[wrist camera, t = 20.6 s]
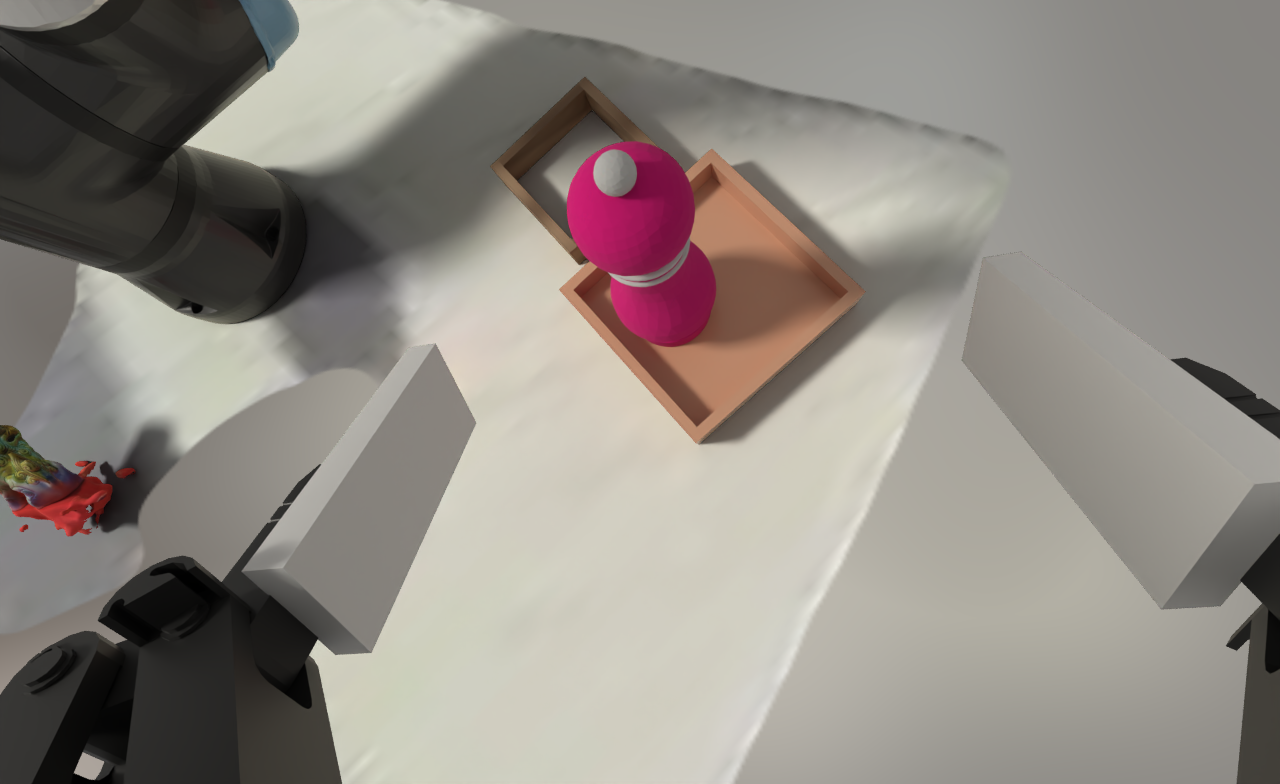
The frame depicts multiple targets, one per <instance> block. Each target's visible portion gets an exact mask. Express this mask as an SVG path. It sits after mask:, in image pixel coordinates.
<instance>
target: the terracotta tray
mask: <svg viewBox="0 0 1280 784" xmlns="http://www.w3.org/2000/svg"><path fill="white" fill-rule="evenodd" d="M685 174H686V176H687V177H688V179H689V182H690V185H691V188H692V191H693V194H694V203H695V218H694V224H693V228H692V232H691V235H690V241H692V242H693V243H694V244H695V245H697V246H698V247H699V248H700V249H701V250H702V251H703V253H704V254H705V255H706V257H707V258H708V260H709V262H710V264H711V267H712V269H713V272H714V276H715V279H716V297H715V301H714V305H713V307H712V310H711V314H710V318H709V320H708V323H707V325H706V326H705V328H704V329H703V331H702V332H701V333H700V334H699V335H698V336H697V337H696V338H694V339H693V340H691V341H690V342H688V343H686V344H683V345H680V346H675V347H663V346H658V345H655V344H653V343H651V342H649V341H647V340H646V339H644V338H641V337H639V336H637V335H636V334H634V333H633V332H631V331H630V330H629V329H628V328H627V327H626V326H625V325H624V324H623V323H622V322H621V320H620V318H619V317H618V315H617V313H616V311H615V308H614V306H613V303H612V299H611V294H610V284H611V275H610V274H609V273H608V272H606V271H604V270H602V269H600V268H598V267H597V266H596V265H594V264H593V263H592V262H590V261H589V262H588V263H587V264H586V265H585V266H584V267H583V268H582V269H581V270H580V271H579V272H577V273H576V274H575V275H574V276H573V277H572V278H571V279H570V280H569V281H568V282H567V283H566V284H564V285H563V286H562V287H561V288H560V289H559V290H560V291H561V292H562V294H563V295H564V296H565V297H566V298H567V299H568V300H569V301H570V302H571V304H572V305H573V306H574V307H575V308H576V309H577V310H578V311H579V313H580V314H581V315H582V316H583V317H584V318H585V319H586V320H587V322H588V323H589V324H590V325H591V326H592V327H593V328H594V329H595V331H596V332H597V333H598V334H599V335H600V336H601V337H602V338H603V339H604V341H605V342H606V343H607V344H608V345H609V346H610V347H611V348H612V350H613V351H614V352H615V353H616V354H617V355H618V356H619V357H620V359H621V360H622V361H623V362H624V363H625V364H626V365H627V366H628V368H629V369H630V370H631V371H632V372H633V373H634V374H635V375H636V377H637V378H638V379H639V380H640V381H641V382H642V383H643V384H644V385H645V387H646V388H647V389H648V390H649V391H650V392H651V393H652V394H653V396H654V397H655V398H656V399H657V400H658V401H659V402H660V403H661V405H662V406H663V407H664V408H665V409H666V410H667V411H668V412H669V414H670V415H671V416H672V417H673V418H674V419H675V420H676V421H677V423H678V424H679V425H680V426H681V427H682V428H683V429H684V430H685V431H686V433H687V434H688V435H689V436H690V437H691V438H692V439H693V440H694V442H695V443H697V444H700V443H701V442H702V441H703V440H704V439H705V438H707V437H708V436H709V435H710V434H711V433H712V432H713V431H714V430H716V429H717V428H718V427H719V426H720V425H721V424H722V423H723V422H725V421H726V420H727V419H728V418H729V417H730V416H731V415H732V414H734V413H735V412H736V411H737V410H738V409H739V408H740V407H741V406H743V405H744V404H745V403H746V402H747V401H748V400H749V399H750V398H752V397H753V396H754V395H755V394H756V393H757V392H758V391H759V390H760V389H762V388H763V387H764V386H765V385H766V384H767V383H768V382H769V381H771V380H772V379H773V378H774V377H775V376H776V375H777V374H778V373H780V372H781V371H782V370H783V369H784V368H785V367H786V366H787V365H789V364H790V363H791V362H792V361H793V360H794V359H795V358H796V357H798V356H799V355H800V354H801V353H802V352H803V351H804V350H805V349H807V348H808V347H809V346H810V345H811V344H812V343H813V342H814V341H815V340H817V339H818V338H819V337H820V336H821V335H822V334H823V333H824V332H826V331H827V330H828V329H829V328H830V327H831V326H832V325H833V324H835V323H836V322H837V321H838V320H839V319H840V318H841V317H842V316H844V315H845V314H846V313H847V312H848V311H849V310H850V309H851V308H853V307H854V306H855V305H856V304H857V302H858V301H859V300H860V299H861V297H862V296H863V295H864V293H865V292H866V291H864V290H863V289H862V288H861V287H860V286H859V285H858V284H857V283H856V282H855V281H854V280H853V279H852V278H850V277H849V276H848V275H847V274H846V273H845V272H844V271H843V270H842V269H841V268H840V267H839V266H838V265H836V264H835V263H834V262H833V261H832V260H831V259H830V258H829V257H828V256H827V255H826V254H825V253H824V252H822V251H821V250H820V249H819V248H818V247H817V246H816V245H815V244H814V243H813V242H812V241H811V240H810V239H808V238H807V237H806V236H805V235H804V234H803V233H802V232H801V231H800V230H799V229H798V228H797V227H796V226H795V225H793V224H792V223H791V222H790V221H789V220H788V219H787V218H786V217H785V216H784V215H783V214H782V213H781V212H779V211H778V210H777V209H776V208H775V207H774V206H773V205H772V204H771V203H770V202H769V201H768V200H767V199H765V198H764V197H763V196H762V195H761V194H760V193H759V192H758V191H757V190H756V189H755V188H754V187H753V186H751V185H750V184H749V183H748V182H747V181H746V180H745V179H744V178H743V177H742V176H741V175H740V174H739V173H737V172H736V171H735V170H734V169H733V168H732V167H731V166H730V165H729V164H728V163H727V162H726V161H725V160H724V159H722V158H721V157H720V156H719V155H718V154H717V153H716V152H715V151H714V150H713V149H710V150H709V151H708V152H707V153H706V154H705V155H704V156H703V157H702V158H701V159H700V160H699V161H697V162H696V163H695V164H694V165H693V166H692V167H691V168H690V169H689V170H688V171H687V172H686V173H685Z"/></svg>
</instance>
